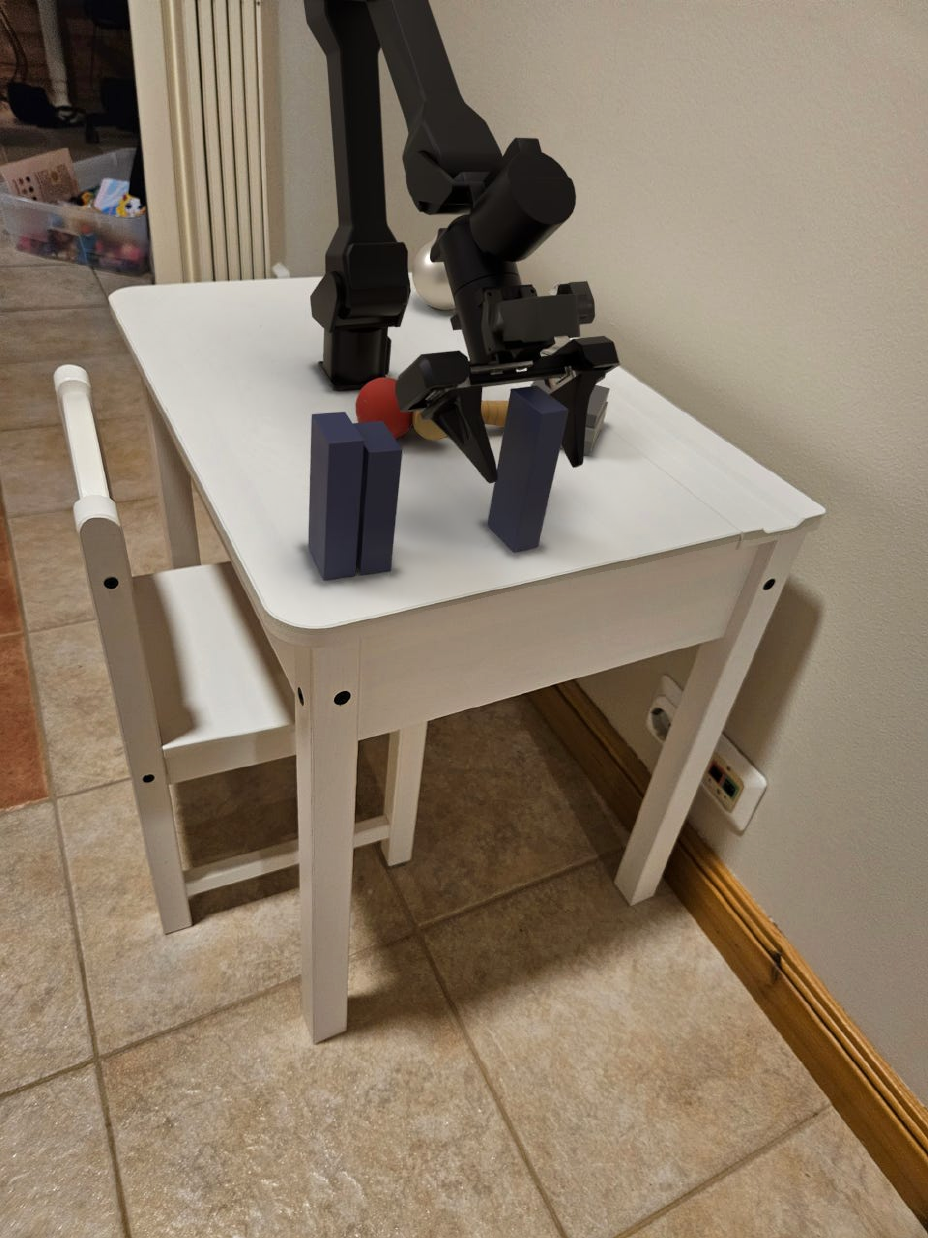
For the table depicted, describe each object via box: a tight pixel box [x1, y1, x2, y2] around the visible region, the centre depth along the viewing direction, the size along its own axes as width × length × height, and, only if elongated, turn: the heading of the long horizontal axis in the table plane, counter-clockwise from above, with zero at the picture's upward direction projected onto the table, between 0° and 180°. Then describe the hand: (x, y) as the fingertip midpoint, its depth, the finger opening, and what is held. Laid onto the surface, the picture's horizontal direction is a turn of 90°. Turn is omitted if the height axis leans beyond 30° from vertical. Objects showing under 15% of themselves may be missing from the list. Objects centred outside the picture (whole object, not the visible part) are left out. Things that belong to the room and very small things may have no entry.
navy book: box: [486, 385, 568, 553], centre depth 73 cm, size 3×4×13 cm, turn 30°
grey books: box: [530, 380, 611, 457], centre depth 93 cm, size 8×8×4 cm
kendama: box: [354, 376, 509, 441], centre depth 89 cm, size 8×6×18 cm
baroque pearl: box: [411, 232, 456, 311], centre depth 116 cm, size 9×10×10 cm
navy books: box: [307, 411, 404, 581], centre depth 68 cm, size 6×4×12 cm
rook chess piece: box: [540, 282, 571, 355], centre depth 110 cm, size 4×4×8 cm
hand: (536, 473), depth 72 cm, fingers open, 8 cm apart
